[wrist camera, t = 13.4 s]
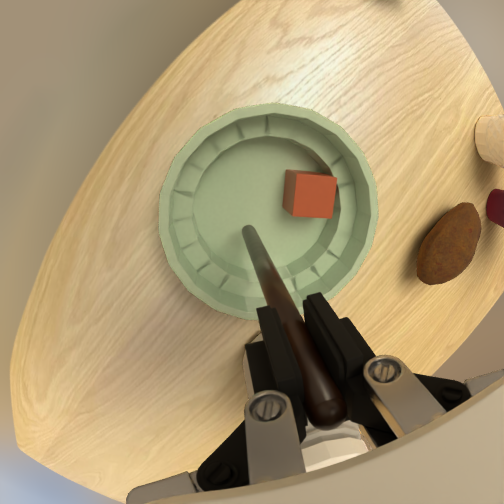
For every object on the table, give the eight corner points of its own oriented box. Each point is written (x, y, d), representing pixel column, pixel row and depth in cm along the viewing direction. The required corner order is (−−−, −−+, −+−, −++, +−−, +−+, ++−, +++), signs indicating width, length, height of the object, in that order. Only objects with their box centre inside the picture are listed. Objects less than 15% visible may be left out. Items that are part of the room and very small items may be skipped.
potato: (466, 215, 32) (502, 231, 25) (422, 283, 34) (453, 309, 28) (444, 184, 29) (484, 197, 23) (395, 260, 32) (429, 286, 26)
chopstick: (242, 237, 26) (313, 442, 7) (239, 224, 25) (312, 421, 7) (255, 234, 26) (351, 430, 7) (253, 221, 25) (355, 408, 7)
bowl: (196, 304, 30) (195, 339, 25) (149, 136, 24) (132, 134, 18) (353, 265, 31) (379, 290, 26) (334, 101, 25) (364, 94, 19)
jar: (262, 308, 32) (309, 451, 15) (333, 329, 34) (402, 445, 18) (228, 370, 34) (247, 501, 18) (295, 383, 37) (335, 496, 20)
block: (282, 207, 27) (292, 216, 24) (285, 169, 26) (296, 173, 23) (317, 209, 28) (332, 218, 25) (322, 172, 27) (337, 177, 23)
